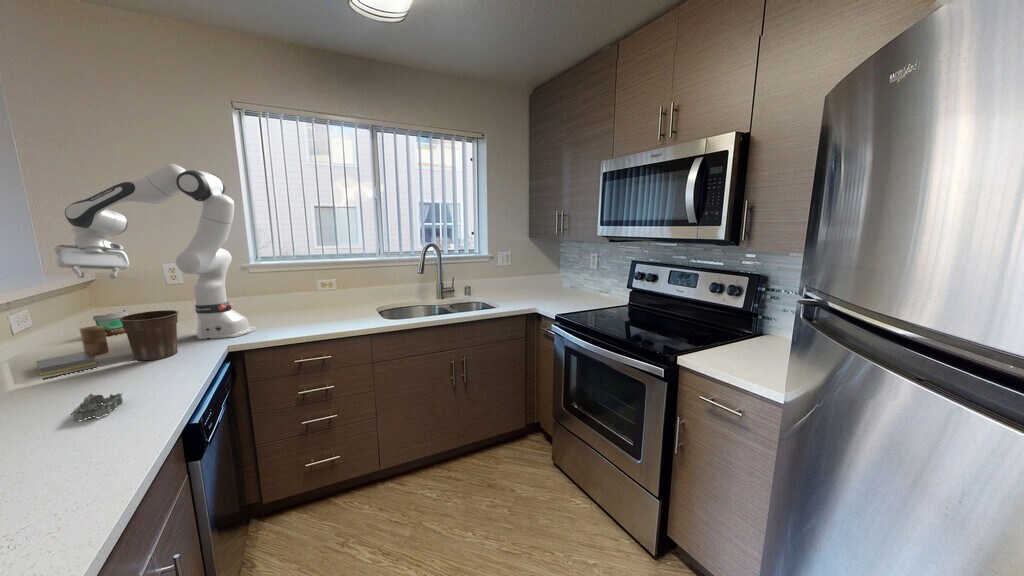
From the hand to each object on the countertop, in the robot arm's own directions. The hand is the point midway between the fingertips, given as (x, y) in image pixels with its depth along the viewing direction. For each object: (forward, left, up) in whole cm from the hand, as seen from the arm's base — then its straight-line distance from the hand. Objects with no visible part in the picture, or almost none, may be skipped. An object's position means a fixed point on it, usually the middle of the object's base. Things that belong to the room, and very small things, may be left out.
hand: (97, 277), depth 154 cm
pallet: (-11, +15, -28) cm, 34 cm away
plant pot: (-33, +14, -29) cm, 46 cm away
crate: (-11, +15, -27) cm, 33 cm away
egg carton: (-59, +57, -29) cm, 87 cm away
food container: (+14, -16, -29) cm, 36 cm away
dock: (-15, +28, -28) cm, 43 cm away
